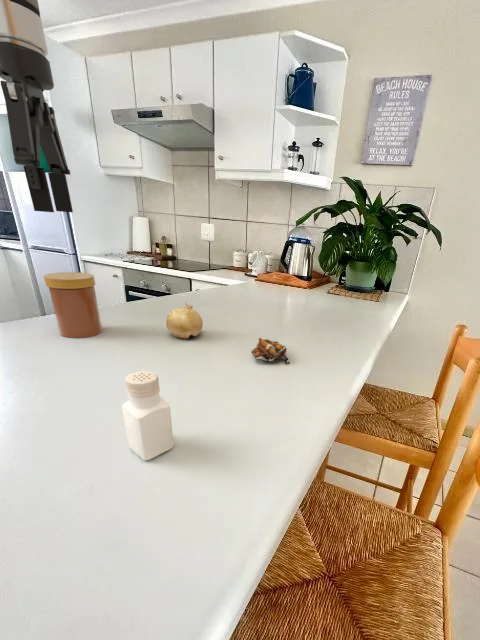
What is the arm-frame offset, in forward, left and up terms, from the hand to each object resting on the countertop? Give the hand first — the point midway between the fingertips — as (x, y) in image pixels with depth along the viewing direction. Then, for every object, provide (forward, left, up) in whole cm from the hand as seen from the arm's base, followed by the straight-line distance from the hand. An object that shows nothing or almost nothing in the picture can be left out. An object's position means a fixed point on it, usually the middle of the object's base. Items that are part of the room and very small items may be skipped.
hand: (55, 211), depth 60 cm
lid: (0, 0, -12) cm, 12 cm away
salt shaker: (+44, +19, -24) cm, 54 cm away
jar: (0, 0, -24) cm, 24 cm away
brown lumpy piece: (+15, +39, -24) cm, 48 cm away
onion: (+3, +22, -24) cm, 33 cm away
